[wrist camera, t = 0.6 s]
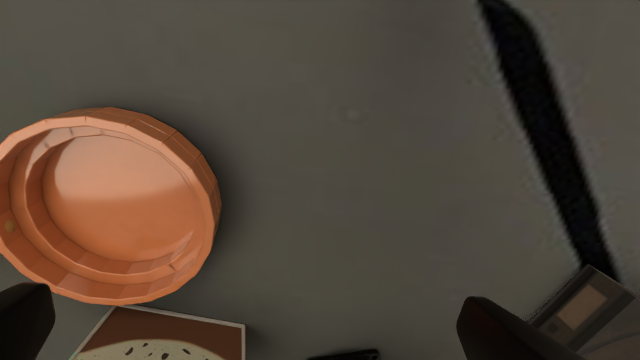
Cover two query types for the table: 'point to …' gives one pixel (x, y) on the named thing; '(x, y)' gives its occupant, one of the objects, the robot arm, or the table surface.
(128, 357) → the food container
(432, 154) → the table surface
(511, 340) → the robot arm
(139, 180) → the pan
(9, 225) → the pan handle
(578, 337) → the portable cd player
